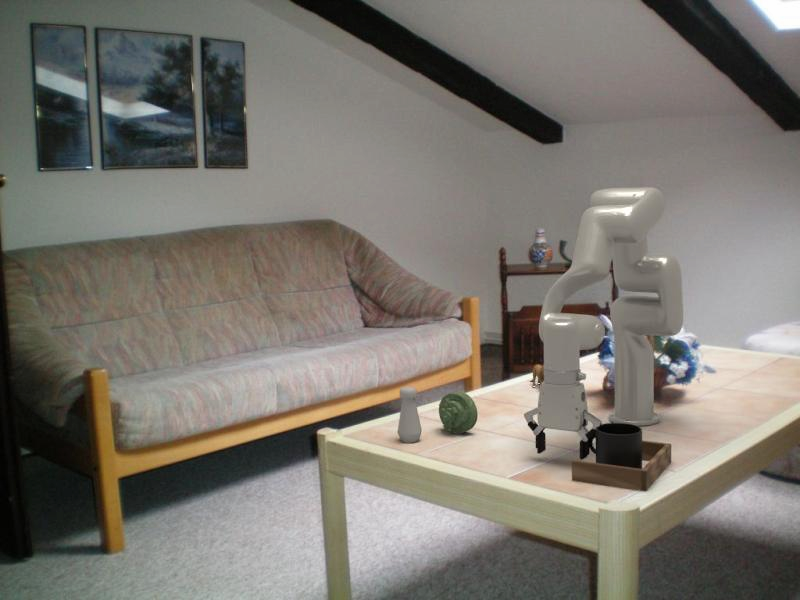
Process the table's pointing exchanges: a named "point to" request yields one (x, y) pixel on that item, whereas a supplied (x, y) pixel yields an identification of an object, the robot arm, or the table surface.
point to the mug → (618, 445)
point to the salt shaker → (409, 416)
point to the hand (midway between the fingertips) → (562, 454)
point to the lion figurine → (538, 374)
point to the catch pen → (626, 469)
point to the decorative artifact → (458, 412)
